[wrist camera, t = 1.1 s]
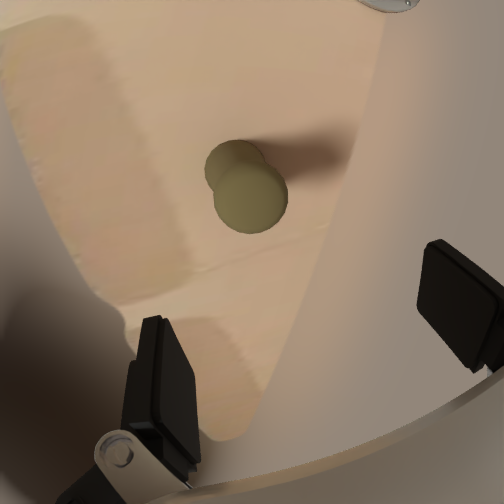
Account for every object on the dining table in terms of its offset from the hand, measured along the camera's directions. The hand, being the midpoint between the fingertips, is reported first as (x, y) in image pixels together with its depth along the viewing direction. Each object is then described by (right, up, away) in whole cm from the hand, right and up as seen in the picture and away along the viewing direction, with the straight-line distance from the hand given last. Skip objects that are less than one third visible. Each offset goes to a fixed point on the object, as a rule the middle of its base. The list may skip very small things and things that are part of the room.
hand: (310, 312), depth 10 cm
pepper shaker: (-4, +10, +20) cm, 22 cm away
